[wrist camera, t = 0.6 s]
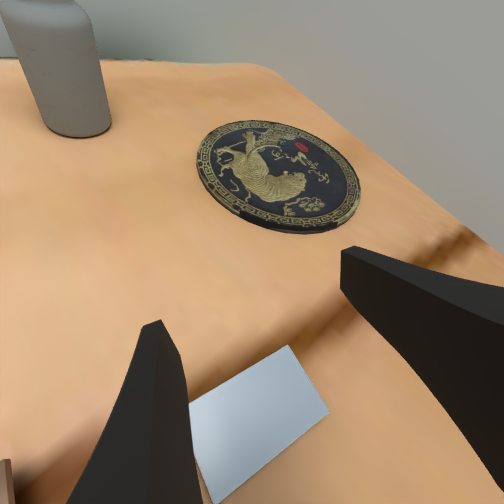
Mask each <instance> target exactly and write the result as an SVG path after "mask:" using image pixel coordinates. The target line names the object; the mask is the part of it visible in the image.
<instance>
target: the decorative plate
mask: <svg viewBox="0 0 504 504" xmlns="http://www.w3.org/2000/svg"><path fill="white" fill-rule="evenodd" d="M196 166H197V170H198V174H199V178H200V179H201V181H202V183H203V185H204V186H205V188H206V190H207V191H208V192H209V193H210V194H211V195H212V197H213V198H214V199H215V200H216V201H217V202H218V203H220V204H221V205H222V206H223V207H225V208H226V209H227V210H229V211H230V212H231V213H233V214H235V215H237V216H238V217H240V218H242V219H244V220H246V221H248V222H250V223H253V224H255V225H258V226H261V227H263V228H266V229H270V230H274V231H279V232H283V233H292V234H314V233H322V232H325V231H329V230H332V229H335V228H337V227H339V226H340V225H342V224H344V223H345V222H347V221H348V220H349V219H350V218H351V216H352V215H353V214H354V213H355V211H356V209H357V206H358V204H359V202H360V195H361V188H360V183H359V179H358V177H357V175H356V173H355V171H354V169H353V167H352V166H351V165H350V163H349V162H348V161H347V159H345V158H344V157H343V156H342V155H341V154H340V153H339V152H338V151H337V150H336V149H334V148H333V147H332V146H331V145H329V144H328V143H326V142H325V141H323V140H321V139H320V138H318V137H316V136H314V135H312V134H310V133H308V132H306V131H303V130H301V129H298V128H295V127H292V126H289V125H285V124H281V123H276V122H269V121H257V120H249V121H238V122H233V123H228V124H226V125H223V126H221V127H218V128H216V129H215V130H213V131H212V132H210V133H209V134H208V135H207V136H206V137H205V138H204V139H203V141H202V142H201V144H200V147H199V149H198V152H197V165H196Z"/></svg>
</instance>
